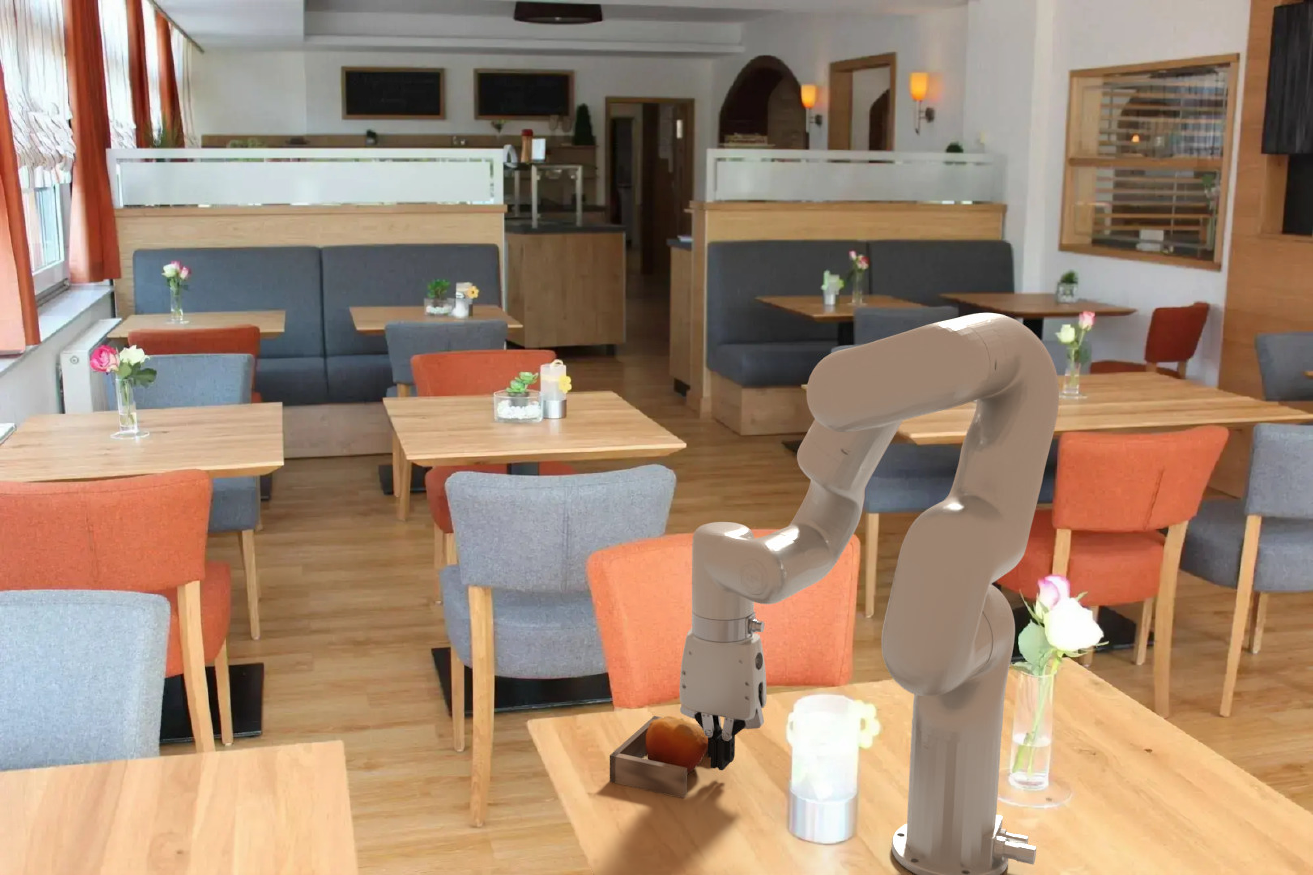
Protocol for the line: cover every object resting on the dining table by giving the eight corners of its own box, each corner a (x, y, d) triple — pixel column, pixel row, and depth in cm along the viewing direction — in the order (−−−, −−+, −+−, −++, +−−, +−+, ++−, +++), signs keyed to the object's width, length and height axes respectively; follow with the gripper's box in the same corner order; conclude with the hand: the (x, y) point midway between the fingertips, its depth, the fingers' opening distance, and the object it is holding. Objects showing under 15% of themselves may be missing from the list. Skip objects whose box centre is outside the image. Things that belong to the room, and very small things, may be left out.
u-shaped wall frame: (723, 754, 167) (724, 729, 166) (683, 798, 155) (683, 771, 155) (654, 740, 171) (654, 715, 170) (609, 781, 160) (609, 755, 159)
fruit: (624, 769, 160) (641, 705, 162) (652, 777, 166) (668, 717, 168) (680, 784, 156) (697, 719, 158) (707, 793, 162) (723, 730, 164)
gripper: (791, 623, 156) (788, 764, 160) (679, 606, 163) (678, 742, 166) (769, 644, 150) (767, 789, 153) (653, 625, 156) (653, 765, 160)
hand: (721, 764), depth 160 cm, fingers closed
